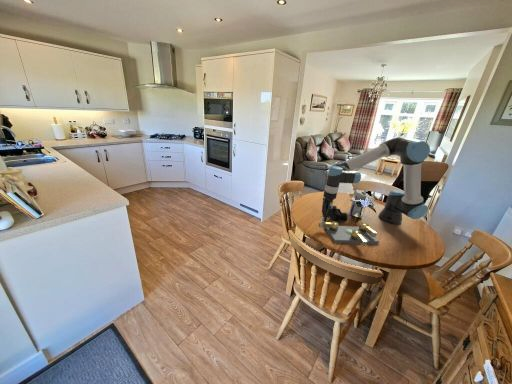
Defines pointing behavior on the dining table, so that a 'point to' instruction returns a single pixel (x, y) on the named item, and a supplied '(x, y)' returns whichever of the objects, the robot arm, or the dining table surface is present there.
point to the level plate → (349, 235)
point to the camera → (338, 215)
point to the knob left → (358, 237)
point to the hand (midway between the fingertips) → (323, 224)
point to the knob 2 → (367, 229)
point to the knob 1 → (329, 225)
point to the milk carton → (354, 206)
